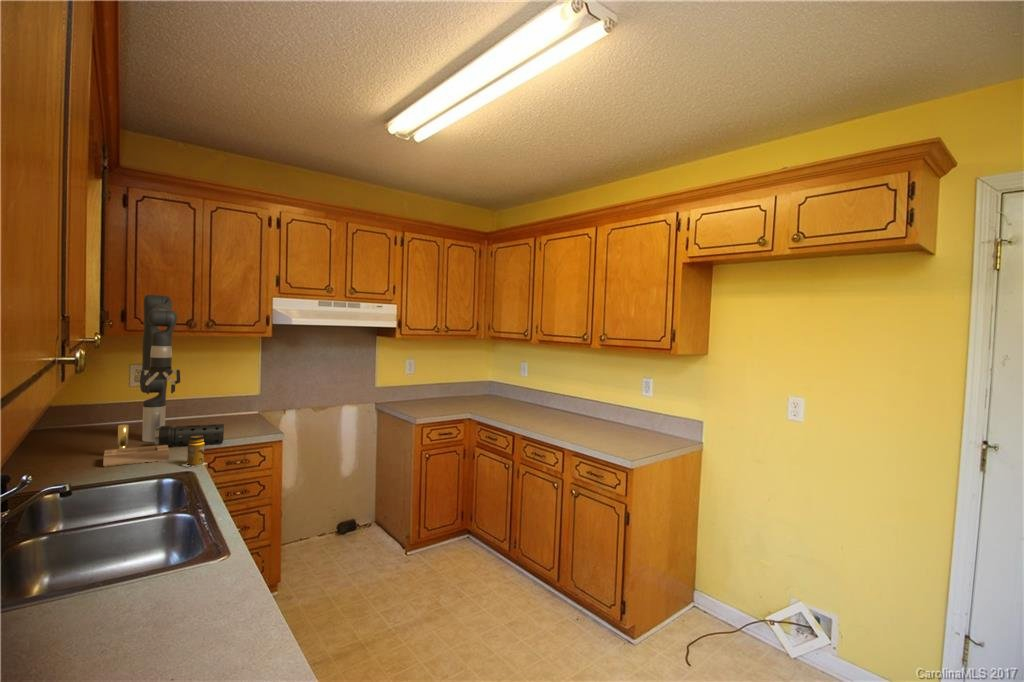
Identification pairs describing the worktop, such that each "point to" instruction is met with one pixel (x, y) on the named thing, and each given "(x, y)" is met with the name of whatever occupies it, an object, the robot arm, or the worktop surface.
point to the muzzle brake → (188, 434)
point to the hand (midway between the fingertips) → (159, 393)
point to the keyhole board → (136, 455)
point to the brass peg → (123, 436)
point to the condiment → (196, 451)
